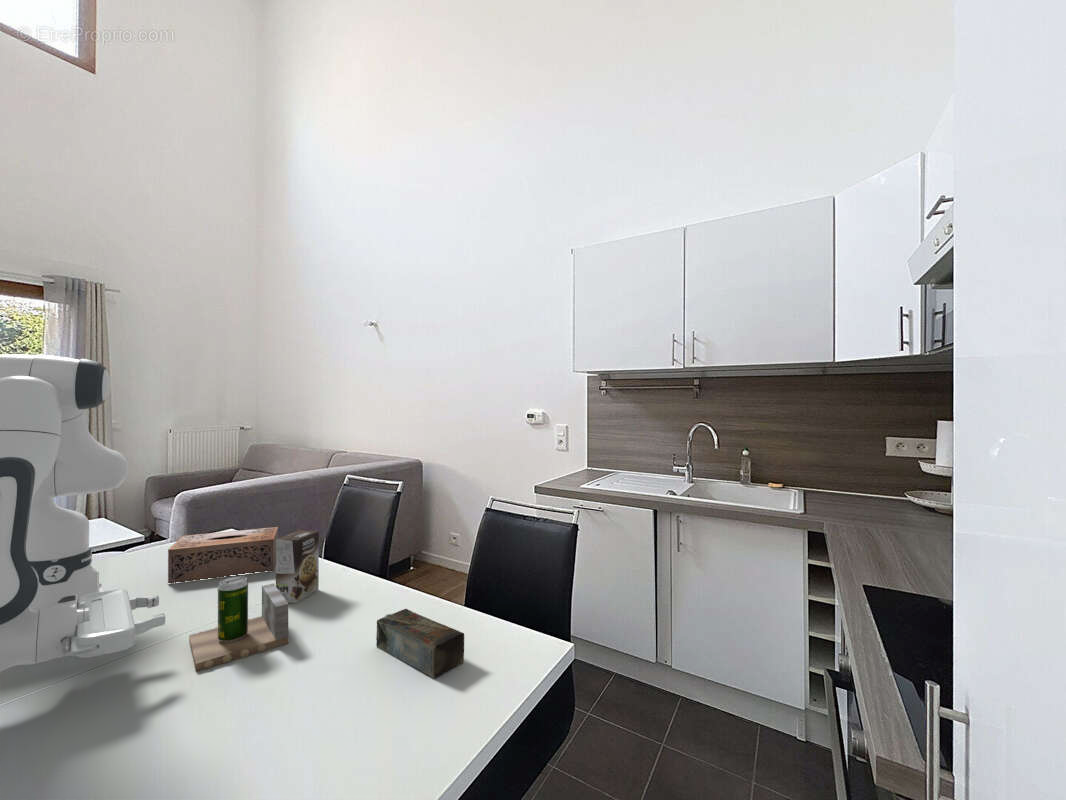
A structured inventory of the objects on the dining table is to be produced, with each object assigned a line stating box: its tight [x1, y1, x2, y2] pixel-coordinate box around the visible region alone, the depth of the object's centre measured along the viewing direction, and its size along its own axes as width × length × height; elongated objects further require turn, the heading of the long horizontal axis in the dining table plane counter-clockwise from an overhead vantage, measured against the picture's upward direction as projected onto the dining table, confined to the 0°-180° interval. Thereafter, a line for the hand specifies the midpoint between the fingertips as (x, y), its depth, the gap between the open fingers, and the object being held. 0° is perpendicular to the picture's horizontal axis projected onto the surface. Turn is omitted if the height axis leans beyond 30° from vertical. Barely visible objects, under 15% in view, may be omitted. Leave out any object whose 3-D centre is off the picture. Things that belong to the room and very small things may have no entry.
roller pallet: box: [188, 583, 289, 672], centre depth 100 cm, size 15×16×8 cm
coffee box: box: [275, 529, 320, 604], centre depth 124 cm, size 9×6×16 cm
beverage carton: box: [375, 608, 465, 679], centre depth 96 cm, size 8×19×7 cm, turn 52°
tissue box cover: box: [167, 526, 279, 584], centre depth 142 cm, size 26×14×10 cm, turn 114°
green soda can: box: [217, 575, 249, 643], centre depth 99 cm, size 5×5×12 cm
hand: (161, 609), depth 92 cm, fingers open, 8 cm apart
